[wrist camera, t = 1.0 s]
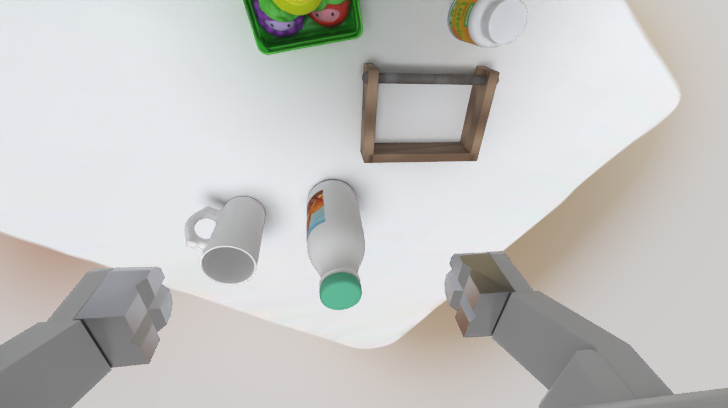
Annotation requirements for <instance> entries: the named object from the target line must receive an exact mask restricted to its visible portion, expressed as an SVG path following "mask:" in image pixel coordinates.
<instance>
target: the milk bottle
mask: <svg viewBox="0 0 728 408" xmlns="http://www.w3.org/2000/svg"><path fill="white" fill-rule="evenodd" d="M307 250H308V255H309V258H310V261H311V263H312V265H313V266H314V268H315V269H316V270H317V272H318V273H319V275H320V277H321V280H320V299H321V301H322V303H323V304H324V305H325V306H326V307H328V308H330V309H335V310H343V309H347V308H350V307H352V306H354V305H355V304H357V303H358V301H359V300H360V298H361V294H362V290H361V284H360V278H359V276H358V275H357V273H358V269H359V267H360V264H361V262H362V260H363V256H364V251H365V240H364V233H363V228H362V223H361V218H360V213H359V208H358V204H357V199H356V196H355V193H354V191H353V189H352V188H351V187H350V186H349V185H347V184H346V183H344V182H341V181H337V180H327V181H324V182H321V183H319V184H317V185H316V186H315V187H314V188H313V189H312V190H311V192H310V193H309V196H308V202H307Z"/></svg>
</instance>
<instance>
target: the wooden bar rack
mask: <svg viewBox="0 0 728 408" xmlns="http://www.w3.org/2000/svg"><path fill="white" fill-rule="evenodd" d="M362 80H363V82H364V83H363V107H362V130H361V154H362V157H363V160H364V163H383V162H439V161H477V158H478V154H479V150H480V146H481V143H482V139H483V135H484V131H485V127H486V123H487V119H488V115H489V112H490V108H491V104H492V100H493V96H494V92H495V88H496V84H497V83H498V81H499V72H497V71H495V70H492V69H490V68H487V67H484V66H477V67H476V72H475V75H466V74H418V73H379V69H378V68H377V67H376V66H375V65H374V64H364V74H363V76H362ZM378 83H396V84H457V85H473V86H472V90H471V95H470V99H469V104H468V108H467V113H466V118H465V122H464V127H463V131H462V136H461V140H460V142H449V143H374V138H375V123H376V108H377V93H378Z"/></svg>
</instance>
